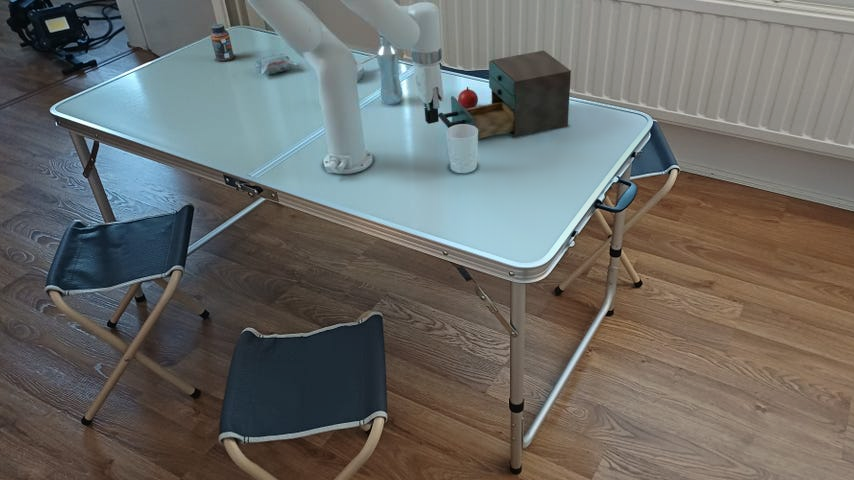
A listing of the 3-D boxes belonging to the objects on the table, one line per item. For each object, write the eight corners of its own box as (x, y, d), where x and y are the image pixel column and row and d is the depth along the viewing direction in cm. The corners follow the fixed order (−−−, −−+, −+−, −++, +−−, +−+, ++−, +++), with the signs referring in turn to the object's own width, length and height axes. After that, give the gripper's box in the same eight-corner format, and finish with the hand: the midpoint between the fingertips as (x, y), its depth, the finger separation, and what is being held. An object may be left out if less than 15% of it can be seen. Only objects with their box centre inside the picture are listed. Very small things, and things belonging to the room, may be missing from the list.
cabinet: (509, 138, 196) (510, 82, 186) (486, 115, 207) (485, 61, 198) (567, 126, 200) (571, 70, 191) (541, 103, 212) (543, 50, 202)
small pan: (324, 78, 232) (322, 67, 230) (367, 62, 242) (365, 50, 240) (345, 87, 226) (343, 76, 224) (388, 70, 236) (387, 58, 234)
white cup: (461, 156, 189) (460, 121, 183) (485, 165, 185) (484, 129, 179) (441, 168, 184) (439, 132, 178) (465, 178, 180) (464, 141, 174)
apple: (475, 114, 208) (475, 91, 204) (456, 112, 209) (455, 90, 205) (480, 105, 213) (479, 83, 208) (460, 104, 214) (460, 82, 210)
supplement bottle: (233, 61, 247) (225, 28, 240) (215, 62, 246) (207, 29, 239) (235, 54, 251) (227, 21, 244) (217, 56, 251) (209, 23, 244)
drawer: (453, 149, 191) (452, 122, 187) (434, 125, 203) (432, 99, 198) (524, 133, 197) (525, 107, 192) (502, 111, 208) (502, 86, 204)
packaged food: (298, 71, 237) (295, 57, 234) (262, 80, 233) (259, 65, 230) (289, 63, 243) (286, 49, 240) (255, 71, 239) (251, 56, 236)
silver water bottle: (404, 97, 219) (399, 31, 207) (401, 107, 214) (395, 40, 201) (383, 97, 219) (376, 31, 207) (379, 106, 214) (372, 40, 202)
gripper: (403, 47, 186) (410, 113, 198) (422, 68, 175) (428, 136, 186) (430, 42, 188) (435, 107, 200) (451, 62, 177) (455, 130, 188)
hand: (432, 121), depth 193 cm, fingers closed
